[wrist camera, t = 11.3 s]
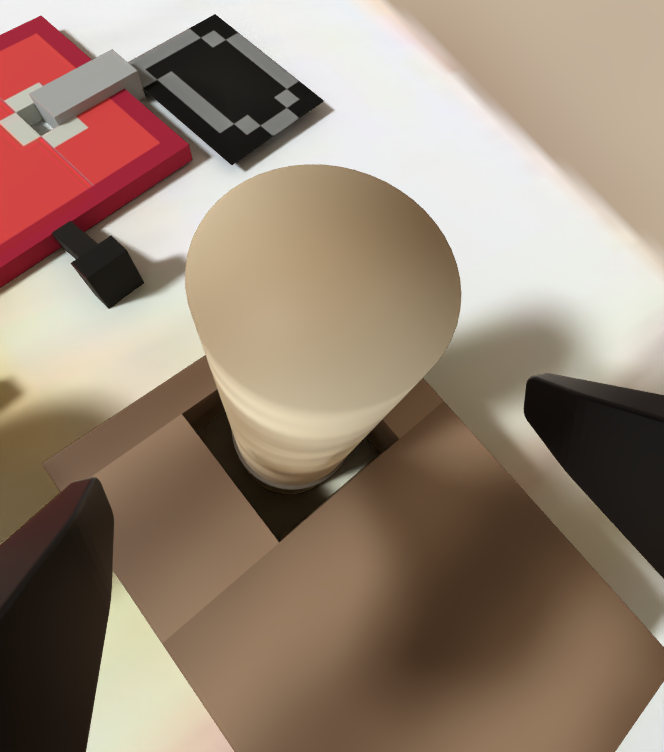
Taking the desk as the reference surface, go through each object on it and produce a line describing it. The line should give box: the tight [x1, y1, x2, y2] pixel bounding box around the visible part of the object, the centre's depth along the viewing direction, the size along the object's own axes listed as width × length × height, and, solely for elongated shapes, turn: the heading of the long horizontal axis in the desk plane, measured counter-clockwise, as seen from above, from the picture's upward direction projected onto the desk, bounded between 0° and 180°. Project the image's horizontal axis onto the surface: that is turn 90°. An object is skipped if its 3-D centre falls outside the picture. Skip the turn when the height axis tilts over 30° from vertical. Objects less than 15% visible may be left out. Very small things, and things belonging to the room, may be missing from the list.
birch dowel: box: [185, 165, 461, 494], centre depth 13 cm, size 4×4×13 cm
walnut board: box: [42, 355, 664, 752], centre depth 16 cm, size 18×12×3 cm, turn 40°
